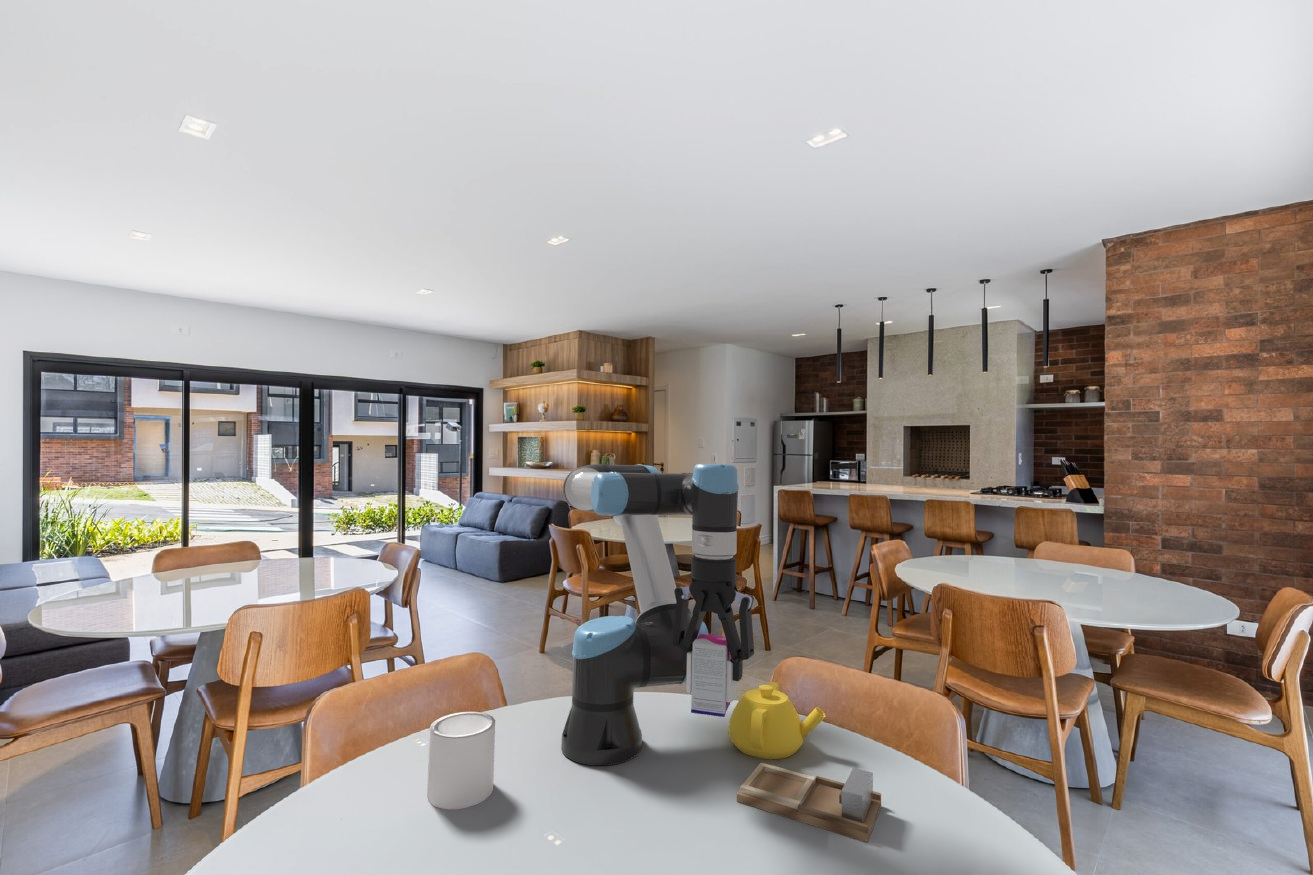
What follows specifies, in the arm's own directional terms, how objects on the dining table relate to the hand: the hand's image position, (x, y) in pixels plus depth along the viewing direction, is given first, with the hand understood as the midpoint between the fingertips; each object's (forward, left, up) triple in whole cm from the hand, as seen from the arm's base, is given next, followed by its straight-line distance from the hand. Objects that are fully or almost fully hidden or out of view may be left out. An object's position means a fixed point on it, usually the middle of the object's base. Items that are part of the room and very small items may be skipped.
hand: (711, 694), depth 101 cm
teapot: (+4, +21, -16) cm, 26 cm away
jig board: (+15, +4, -15) cm, 22 cm away
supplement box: (0, 0, -2) cm, 2 cm away
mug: (-35, -21, -16) cm, 44 cm away
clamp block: (+22, +4, -14) cm, 27 cm away
